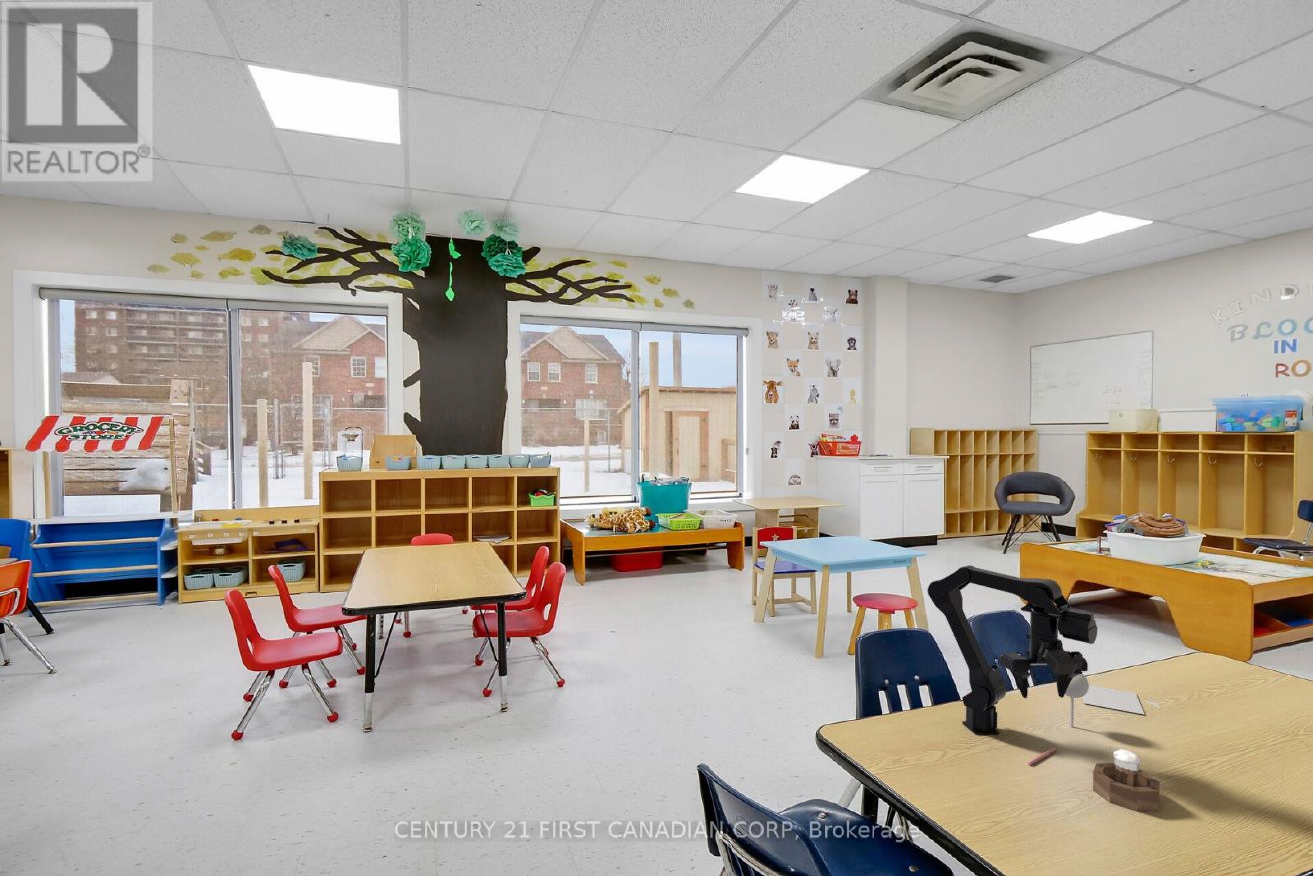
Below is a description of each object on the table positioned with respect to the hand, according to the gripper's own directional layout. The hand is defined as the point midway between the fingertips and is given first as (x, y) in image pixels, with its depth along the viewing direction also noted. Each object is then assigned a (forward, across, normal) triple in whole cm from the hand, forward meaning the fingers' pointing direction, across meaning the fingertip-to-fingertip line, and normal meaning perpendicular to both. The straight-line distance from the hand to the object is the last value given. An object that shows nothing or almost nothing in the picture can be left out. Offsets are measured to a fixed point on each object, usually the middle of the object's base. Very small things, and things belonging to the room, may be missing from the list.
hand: (1042, 697), depth 153 cm
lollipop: (+13, +17, +12) cm, 25 cm away
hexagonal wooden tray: (+13, +5, -19) cm, 24 cm away
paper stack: (+14, +43, +22) cm, 50 cm away
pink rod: (+13, -2, -3) cm, 13 cm away
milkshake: (+13, +5, -19) cm, 23 cm away
